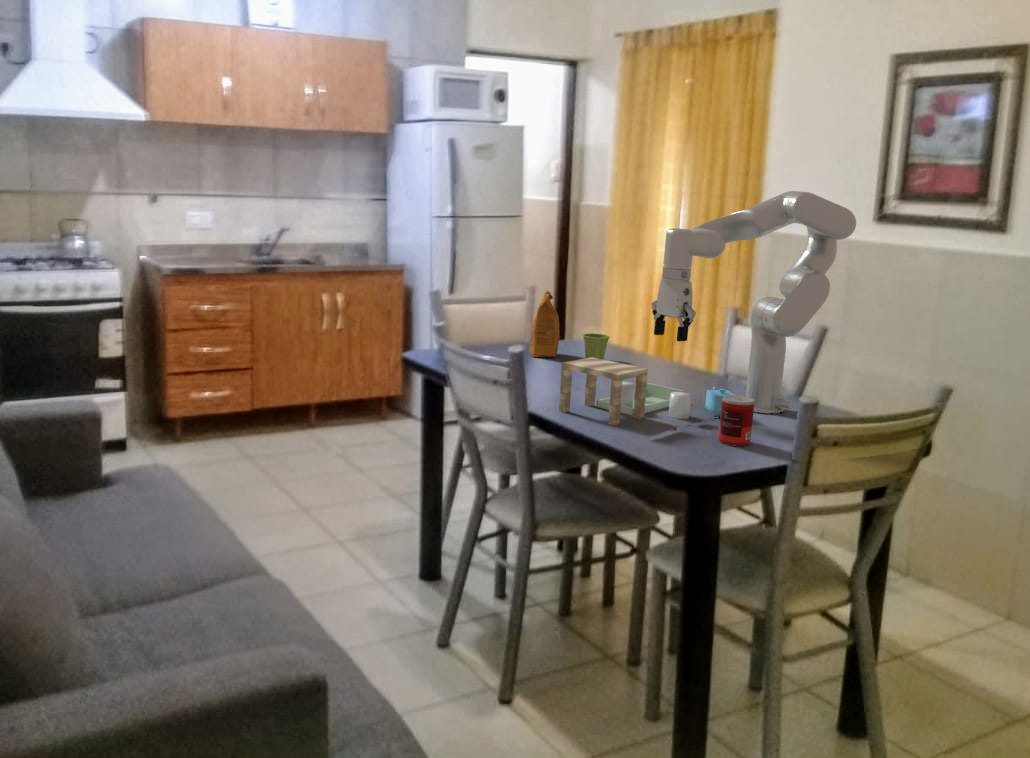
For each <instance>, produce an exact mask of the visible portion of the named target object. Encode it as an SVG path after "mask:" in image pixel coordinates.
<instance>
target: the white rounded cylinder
mask: <svg viewBox="0 0 1030 758" xmlns="http://www.w3.org/2000/svg"><path fill="white" fill-rule="evenodd" d="M635 387H636V383H634V382H630V381H623V382H622V394H621V406H626V407H630V408H633V404H634V391H635Z"/></svg>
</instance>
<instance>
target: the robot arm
mask: <svg viewBox="0 0 1030 758" xmlns="http://www.w3.org/2000/svg"><path fill="white" fill-rule="evenodd" d="M792 224H801V225H803V226H805V227H806V230H807V244H806V247H805V248H804V250H803V251H802V253H801V254H800V255H799V256H798V257H797V259H796V260H795V261H794V263H793V264H792V265H791V266H790V267H789V269H788V270H787V271H786V272H785V274H784V275H783V276H782V277H781V279H780V282H779V284H778V285H779V286H778V289H779V292H780V294H781V295H782V296H783V297H784V298H783V299H782V298H779V297H775V296H765V297H763V298H761V299H758V300H757V301H756V302H755V303H754V305H753V307H752V309H751V312H750V314H751V315H750V324H751V325H750V327H751V341H750V352H749V361H748V370H747V379H746V380H747V381H746V389H745V390H746V391H745V397H749V398H752V399H753V400H754V412H753V413H758V412H759V414H771V413H773V414H780V412H782V413H784V412H785V410H786V409H788V410H791V409H793V406H794V405H793V403H794V402H793V401H792V400H786V399H785V394H782V386H783V377H784V370H785V369H784V368H785V359H786V353H787V338H789V337H793V336H795V335H797V334H799V333H800V332H801V331H802V330H803V329H804V328H805V327H806V325H807V324H808V323H809V322H810V321H811V319H812V318H813V317H814V316H815V315H816V314H817V312H818V311H819V310H820V309H821V308H822V306H823V305H824V304H825V302H826V301H827V299H828V297H829V295H830V290H831V283H830V281H829V278H828V276H827V275H826V274H827V272H829V270H830V268H831V267H832V266H833V264H834V262H835V259H836V258H837V257H836V256H837V251H838V250H837V249H838V247H837V245H838V241H840V240H845V239H847V238H849V237H850V236H852V235H853V233H854V232H855V230H856V227H857V218H856V215H855V214H854V213H853V212H852V211H851V210H850V209H848V208H846V207H844V206H843V205H840V204H837V203H836V202H833V201H831V200H828V199H826V198H824V197H821V196H820V195H817V194H815V193H813V192H808V191H800V190H798V191H797V190H790V191H786V192H783V193H781V194H779V195H776V196H774V197H771V198H769V199H767V200H764V201H762V202H759V203H757V204H755V205H753V206H750V207H747V208H744V209H742V210H741V209H740V210H737V211H735V212H732V213H729V214H726V215H723V216H720V217H717V218H714V219H712V220H709V221H706V222H703V223H701V224H699V225H697V226H695V227H693V228H691V229H687V228H675V227H674V228H669V229H668V230H667V231H666V233H665V239H664V240H665V241H664V250H663V251H664V253H663V264H662V273H661V279H660V282H659V287H658V292H657V298H656V300H654V301H652V302H651V304H650V305H651V309H652V315H653V320H654V328H653V329H654V330H653V335H654V336H663V335H665V330H666V320H665V318H666V317H668V318H673V319H677V323H678V324H679V325H678V326H677V332H676V333H677V334H676V341H677V342H687V341H688V335H689V328H690V327H691V325H692V324H693V322H694V319H695V317H696V315H697V312H696V311H695V310H694V309H693V285H692V281H691V277H692V265H693V257H699V258H704V259H714V258H717V257H720V256H721V255H722V254H723V252H724V251H725V249H726V244H728V243H732V242H736V241H737V242H738V241H747V240H748V241H750V240H755V239H758V238H762V237H764V236H766V235H769V234H771V233H773V232H776V231H777V230H780V229H783V228H784V227H787V226H789V225H792ZM783 411H784V412H783Z"/></svg>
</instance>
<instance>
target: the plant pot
mask: <svg viewBox="0 0 1030 758" xmlns="http://www.w3.org/2000/svg"><path fill="white" fill-rule="evenodd" d="M581 336H582V337H583V341H584V353H585V355H584V356H585V359H586V358H591V357H593V358H598V359H603V360H605V354H606V350H607V346H608V345H607V344H608V342H609V339H610V338H611V336H610V335H608V334H602V333H589V332H588V333H582V335H581Z"/></svg>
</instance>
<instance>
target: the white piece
mask: <svg viewBox="0 0 1030 758" xmlns="http://www.w3.org/2000/svg"><path fill="white" fill-rule="evenodd" d="M691 401H692V394H691V393H688V392H671V393H670V404H669V407H668V417H669V418H672V419H676V420H677V419H678V420H688V419H689V418H690V410H691Z"/></svg>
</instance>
